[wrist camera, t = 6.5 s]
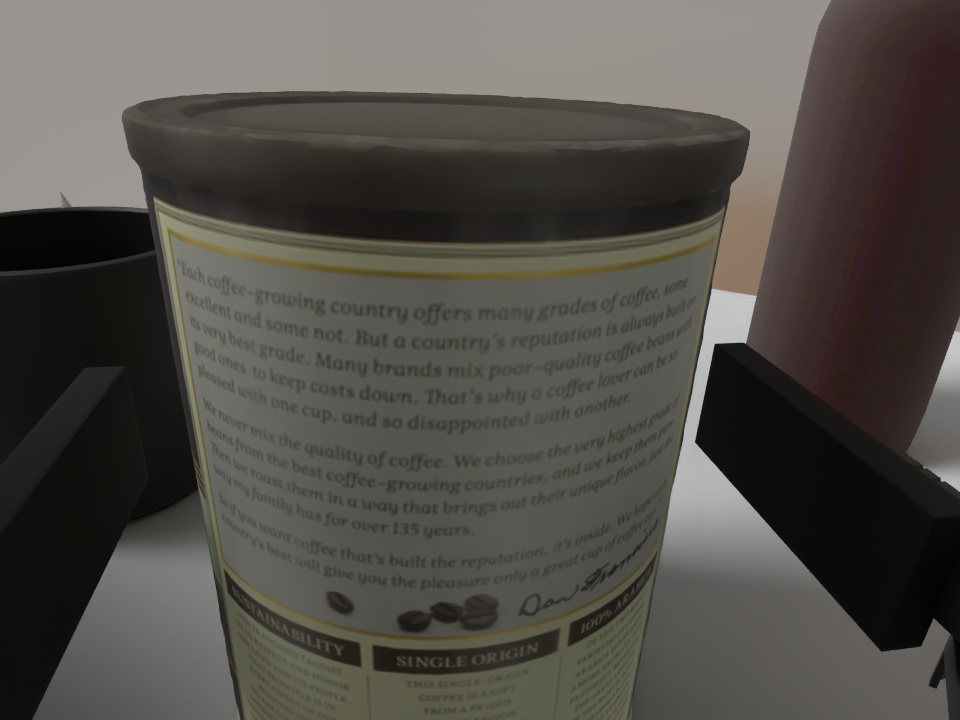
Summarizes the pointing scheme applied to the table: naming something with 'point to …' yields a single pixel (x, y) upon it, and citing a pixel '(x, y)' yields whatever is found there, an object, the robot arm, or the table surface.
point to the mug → (90, 330)
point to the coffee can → (434, 384)
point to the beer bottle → (870, 216)
